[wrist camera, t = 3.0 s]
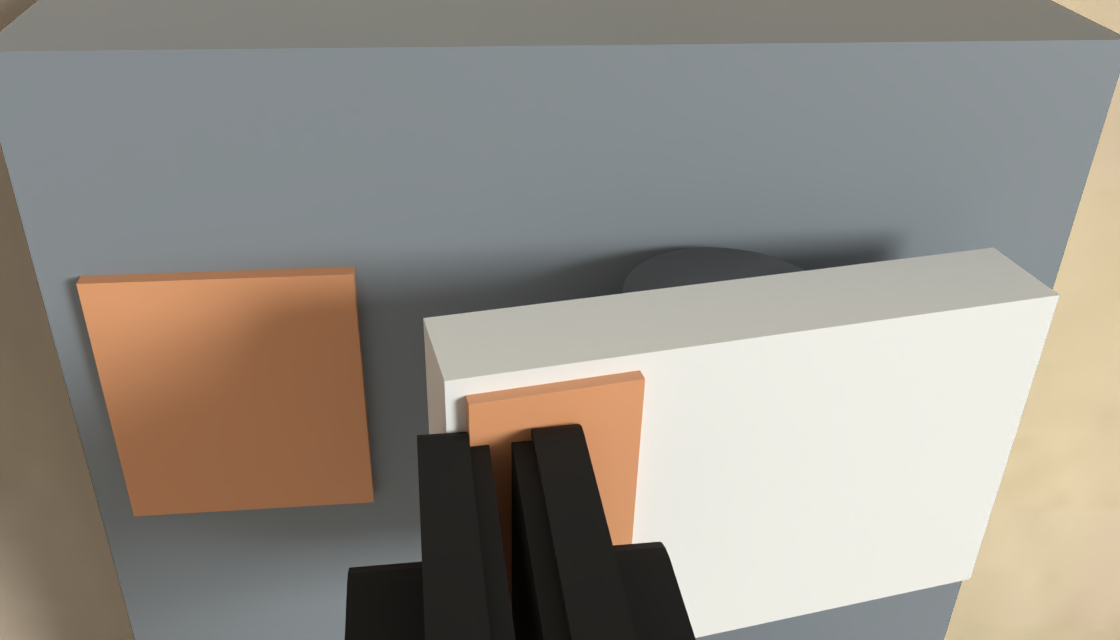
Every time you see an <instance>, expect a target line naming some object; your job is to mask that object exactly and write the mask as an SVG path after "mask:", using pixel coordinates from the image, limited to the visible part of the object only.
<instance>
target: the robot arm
mask: <svg viewBox="0 0 1120 640" xmlns="http://www.w3.org/2000/svg"><path fill="white" fill-rule="evenodd" d="M531 438H532V441H523V442H511V458H512V610H511V602H510V595H509V587H508V580H507V573H506V565H505V558H504V550H503V543H502V536H501V528H500V521H499V513H498V506H497V498H496V491H495V484H494V476H493V469H492V461H491V454H490V447H489V445H481V446H471V447H470V444H469V436H468V433H467V432H456V433H441V434H426V435H417V453H418V478H419V502H420V527H421V551H422V561H421V562H409V563H397V564H386V565H374V566H362V567H350V568H349V571H348V578H347V596H346V620H345V640H696V639H695V636H694V632H693V629H692V626H691V623H690V620H689V617H688V614H687V610H686V607H685V604H684V601H683V598H682V595H681V592H680V588H679V585H678V582H677V579H676V576H675V573H674V570H673V566H672V563H671V560H670V557H669V555H668V552H667V550H666V547H665V546H664V545H663V543H662V542H649V543H637V544H624V545H613V544H612V540H611V536H610V532H609V528H608V524H607V520H606V517H605V513H604V509H603V505H602V501H601V497H600V493H599V489H598V485H597V482H596V478H595V474H594V470H593V466H592V462H591V458H590V454H589V451H588V447H587V443H586V439H585V435H584V431H583V428H582V426H581V425H580V424H573V425H563V426H552V427H542V428H532V429H531Z"/></svg>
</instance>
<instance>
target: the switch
mask: <svg viewBox="0 0 1120 640" xmlns="http://www.w3.org/2000/svg"><path fill="white" fill-rule="evenodd" d="M1059 296H1060V295H1059V294H1057V293H1056V292H1055V291H1053V290H1052V289H1050V288H1049V287H1048V286H1046V285H1045V284H1044V283H1042V282H1041V281H1039V280H1038V279H1037V278H1035V277H1034V276H1032V275H1031V274H1030V273H1028V272H1027V271H1026V270H1024V269H1023V268H1021V267H1020V266H1019V265H1017V264H1016V263H1015V262H1013V261H1012V260H1010V259H1009V258H1008V257H1006V256H1005V255H1003V254H1002V253H1001V252H999V251H998V250H997V249H995V248H994V247H993V248H985V249H977V250H969V251H961V252H953V253H945V254H937V255H929V256H921V257H913V258H905V259H896V260H888V261H880V262H872V263H864V264H856V265H848V266H840V267H832V268H824V269H816V270H808V271H804V270H803V269H801V268H799V267H797V266H795V265H793V264H791V263H788V262H786V261H783V260H781V259H778V258H775V257H772V256H768V255H765V254H761V253H756V252H752V251H746V250H740V249H731V248H716V247H703V248H688V249H682V250H675V251H671V252H667V253H663V254H660V255H657V256H654V257H652V258H650V259H648V260H646V261H644V262H642V263H641V264H639V265H638V266H637V267H635V268H634V269H633V270H632V271H631V272H630V273H629V274H628V276H627V278H626V280H625V282H624V286H623V293H622V294H614V295H606V296H598V297H590V298H582V299H574V300H566V301H558V302H549V303H541V304H533V305H525V306H517V307H509V308H501V309H493V310H485V311H477V312H469V313H461V314H453V315H445V316H437V317H428V318H423V323H424V342H425V362H426V381H427V401H428V420H429V434H441V433H456V432H467V433H468V436H469V444H470V447H471V446H481V445H489V447H490V454H491V461H492V469H493V476H494V484H495V491H496V498H497V506H498V513H499V521H500V528H501V536H502V543H503V550H504V558H505V565H506V573H507V580H508V587H509V595H510V602H511V610H512V458H511V442H523V441H532V438H531V429H532V428H542V427H552V426H563V425H573V424H580V425H581V426H582V428H583V431H584V435H585V439H586V443H587V447H588V451H589V454H590V458H591V462H592V466H593V470H594V474H595V478H596V482H597V485H598V489H599V493H600V497H601V501H602V505H603V509H604V513H605V517H606V520H607V524H608V528H609V532H610V536H611V540H612V544H613V545H624V544H637V543H649V542H662V543H663V545H664V546H665V547H666V550H667V552H668V555H669V557H670V560H671V563H672V566H673V570H674V573H675V576H676V579H677V582H678V585H679V588H680V592H681V595H682V598H683V601H684V604H685V607H686V610H687V614H688V617H689V620H690V623H691V626H692V629H693V632H694V636H695V638H698V637H703V636H707V635H712V634H717V633H721V632H726V631H731V630H735V629H740V628H744V627H749V626H754V625H758V624H763V623H768V622H772V621H777V620H782V619H786V618H791V617H796V616H800V615H805V614H810V613H814V612H819V611H823V610H828V609H833V608H837V607H842V606H847V605H851V604H856V603H861V602H865V601H870V600H875V599H879V598H884V597H889V596H893V595H898V594H903V593H907V592H912V591H916V590H921V589H926V588H930V587H935V586H940V585H944V584H949V583H954V582H958V581H963V580H968V579H970V578H971V574H972V571H973V568H974V565H975V562H976V559H977V555H978V552H979V549H980V546H981V543H982V540H983V536H984V533H985V530H986V527H987V524H988V521H989V517H990V514H991V511H992V508H993V505H994V502H995V498H996V495H997V492H998V489H999V486H1000V483H1001V479H1002V476H1003V473H1004V470H1005V467H1006V464H1007V460H1008V457H1009V454H1010V451H1011V448H1012V445H1013V441H1014V438H1015V435H1016V432H1017V429H1018V426H1019V422H1020V419H1021V416H1022V413H1023V410H1024V407H1025V403H1026V400H1027V397H1028V394H1029V391H1030V388H1031V384H1032V381H1033V378H1034V375H1035V372H1036V369H1037V365H1038V362H1039V359H1040V356H1041V353H1042V350H1043V346H1044V343H1045V340H1046V337H1047V334H1048V330H1049V327H1050V324H1051V321H1052V318H1053V315H1054V311H1055V308H1056V305H1057V302H1058V299H1059Z"/></svg>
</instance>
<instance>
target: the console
mask: <svg viewBox="0 0 1120 640" xmlns="http://www.w3.org/2000/svg"><path fill="white" fill-rule="evenodd" d="M1119 74H1120V34H1118V33H1116V32H1114V31H1112V30H1110V29H1108V28H1106V27H1104V26H1102V25H1100V24H1098V23H1096V22H1094V21H1092V20H1090V19H1088V18H1085V17H1083V16H1081V15H1079V14H1077V13H1075V12H1073V11H1071V10H1069V9H1067V8H1065V7H1063V6H1061V5H1059V4H1057V3H1055V2H1053V1H1051V0H37V1H36V2H35V3H34V4H33V5H31V6H30V7H29V8H28V9H27V10H25V11H24V12H23V13H22V14H21V15H19V16H18V17H17V18H16V19H15V20H13V21H12V22H11V23H10V24H9V25H7V26H6V27H5V28H4V29H3V30H1V31H0V143H1V147H2V151H3V154H4V158H5V162H6V166H7V169H8V173H9V177H10V180H11V184H12V188H13V191H14V195H15V199H16V202H17V206H18V210H19V214H20V217H21V221H22V225H23V228H24V232H25V236H26V239H27V243H28V247H29V251H30V254H31V258H32V262H33V265H34V269H35V273H36V276H37V280H38V284H39V288H40V291H41V295H42V299H43V302H44V306H45V310H46V313H47V317H48V321H49V324H50V328H51V332H52V336H53V339H54V343H55V347H56V350H57V354H58V358H59V361H60V365H61V369H62V373H63V376H64V380H65V384H66V387H67V391H68V395H69V398H70V402H71V406H72V409H73V413H74V417H75V421H76V424H77V428H78V432H79V435H80V439H81V443H82V446H83V450H84V454H85V458H86V461H87V465H88V469H89V472H90V476H91V480H92V483H93V487H94V491H95V495H96V498H97V502H98V506H99V509H100V513H101V517H102V520H103V524H104V528H105V531H106V535H107V539H108V543H109V546H110V550H111V554H112V557H113V561H114V565H115V568H116V572H117V576H118V580H119V583H120V587H121V591H122V594H123V598H124V602H125V605H126V609H127V613H128V616H129V620H130V624H131V628H132V631H133V635H134V639H135V640H345V620H346V596H347V578H348V571H349V568H350V567H362V566H374V565H386V564H397V563H409V562H421V561H422V551H421V527H420V502H419V478H418V453H417V435H426V434H429V420H428V401H427V381H426V362H425V342H424V323H423V318H428V317H437V316H445V315H453V314H461V313H469V312H477V311H485V310H493V309H501V308H509V307H517V306H525V305H533V304H541V303H549V302H558V301H566V300H574V299H582V298H590V297H598V296H606V295H614V294H622V293H623V286H624V282H625V280H626V278H627V276H628V274H629V273H630V272H631V271H632V270H633V269H634V268H635V267H637V266H638V265H639V264H641V263H642V262H644V261H646V260H648V259H650V258H652V257H654V256H657V255H660V254H663V253H667V252H671V251H675V250H682V249H688V248H703V247H716V248H731V249H740V250H746V251H752V252H756V253H761V254H765V255H768V256H772V257H775V258H778V259H781V260H783V261H786V262H788V263H791V264H793V265H795V266H797V267H799V268H801V269H803V270H804V271H808V270H816V269H824V268H832V267H840V266H848V265H856V264H864V263H872V262H880V261H888V260H896V259H905V258H913V257H921V256H929V255H937V254H945V253H953V252H961V251H969V250H977V249H985V248H993V247H994V248H995V249H997V250H998V251H999V252H1001V253H1002V254H1003V255H1005V256H1006V257H1008V258H1009V259H1010V260H1012V261H1013V262H1015V263H1016V264H1017V265H1019V266H1020V267H1021V268H1023V269H1024V270H1026V271H1027V272H1028V273H1030V274H1031V275H1032V276H1034V277H1035V278H1037V279H1038V280H1039V281H1041V282H1042V283H1044V284H1045V285H1046V286H1048V287H1049V288H1050V289H1052V290H1053V286H1054V283H1055V280H1056V277H1057V273H1058V270H1059V267H1060V264H1061V261H1062V257H1063V254H1064V251H1065V248H1066V244H1067V241H1068V238H1069V235H1070V232H1071V228H1072V225H1073V222H1074V219H1075V215H1076V212H1077V209H1078V206H1079V203H1080V199H1081V196H1082V193H1083V190H1084V186H1085V183H1086V180H1087V177H1088V174H1089V170H1090V167H1091V164H1092V161H1093V157H1094V154H1095V151H1096V148H1097V145H1098V141H1099V138H1100V135H1101V132H1102V129H1103V125H1104V122H1105V119H1106V116H1107V112H1108V109H1109V106H1110V103H1111V100H1112V96H1113V93H1114V90H1115V87H1116V83H1117V80H1118V77H1119ZM961 583H962V581H958V582H954V583H949V584H944V585H940V586H935V587H930V588H926V589H921V590H916V591H912V592H907V593H903V594H898V595H893V596H889V597H884V598H879V599H875V600H870V601H865V602H861V603H856V604H851V605H847V606H842V607H837V608H833V609H828V610H823V611H819V612H814V613H810V614H805V615H800V616H796V617H791V618H786V619H782V620H777V621H772V622H768V623H763V624H758V625H754V626H749V627H744V628H740V629H735V630H731V631H726V632H721V633H717V634H712V635H707V636H703V637H698V638H695V639H696V640H944V637H945V634H946V631H947V628H948V624H949V621H950V618H951V615H952V612H953V608H954V605H955V602H956V599H957V595H958V592H959V589H960V586H961Z"/></svg>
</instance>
